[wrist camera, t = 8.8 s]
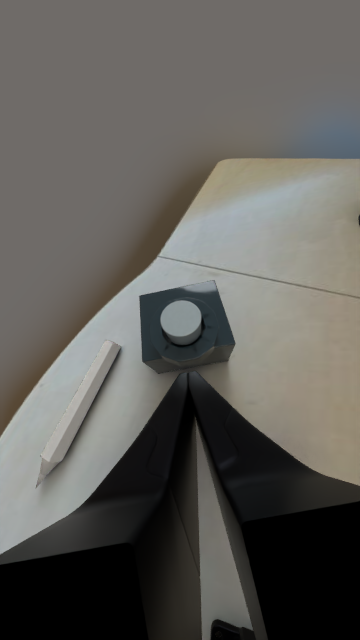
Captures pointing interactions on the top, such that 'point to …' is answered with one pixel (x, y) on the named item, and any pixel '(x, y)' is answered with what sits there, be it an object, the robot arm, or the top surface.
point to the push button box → (205, 350)
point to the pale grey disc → (181, 322)
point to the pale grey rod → (77, 409)
